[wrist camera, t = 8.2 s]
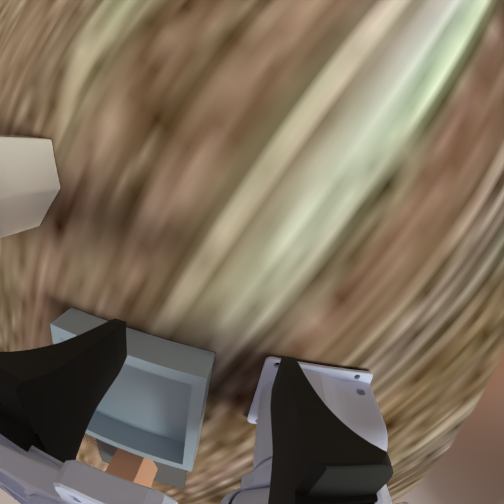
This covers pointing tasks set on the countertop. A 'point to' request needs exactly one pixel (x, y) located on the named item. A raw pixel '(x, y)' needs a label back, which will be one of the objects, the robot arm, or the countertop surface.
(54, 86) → the countertop surface
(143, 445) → the bin
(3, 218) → the jar
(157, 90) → the countertop surface
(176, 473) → the mat
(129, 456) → the block
